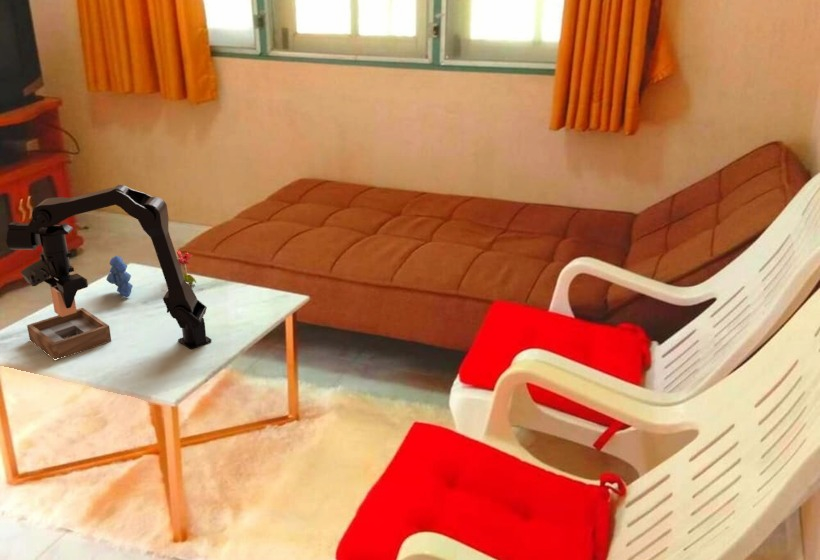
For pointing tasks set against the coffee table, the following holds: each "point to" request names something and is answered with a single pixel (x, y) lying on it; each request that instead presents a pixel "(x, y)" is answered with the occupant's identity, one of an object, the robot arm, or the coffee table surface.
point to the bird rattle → (182, 263)
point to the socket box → (69, 333)
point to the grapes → (120, 276)
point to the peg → (61, 304)
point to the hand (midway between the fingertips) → (64, 305)
